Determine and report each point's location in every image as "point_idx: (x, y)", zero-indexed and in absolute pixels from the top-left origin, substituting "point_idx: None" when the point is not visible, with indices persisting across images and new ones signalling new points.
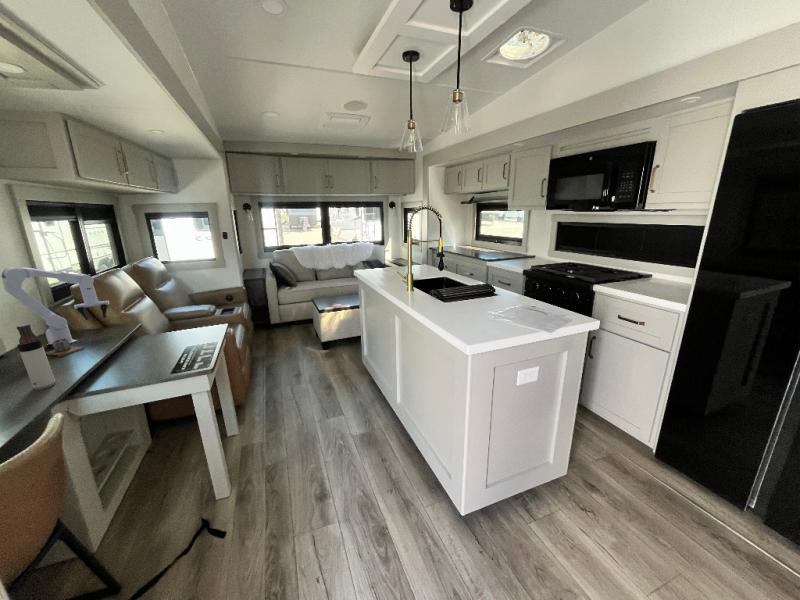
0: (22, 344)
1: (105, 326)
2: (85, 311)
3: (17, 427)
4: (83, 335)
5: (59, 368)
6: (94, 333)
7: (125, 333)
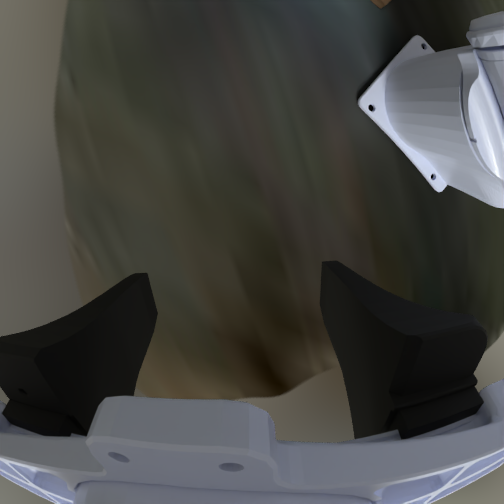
0: None
1: (265, 365)
2: (357, 371)
3: None
4: (353, 235)
5: None
6: (291, 247)
7: (63, 139)
